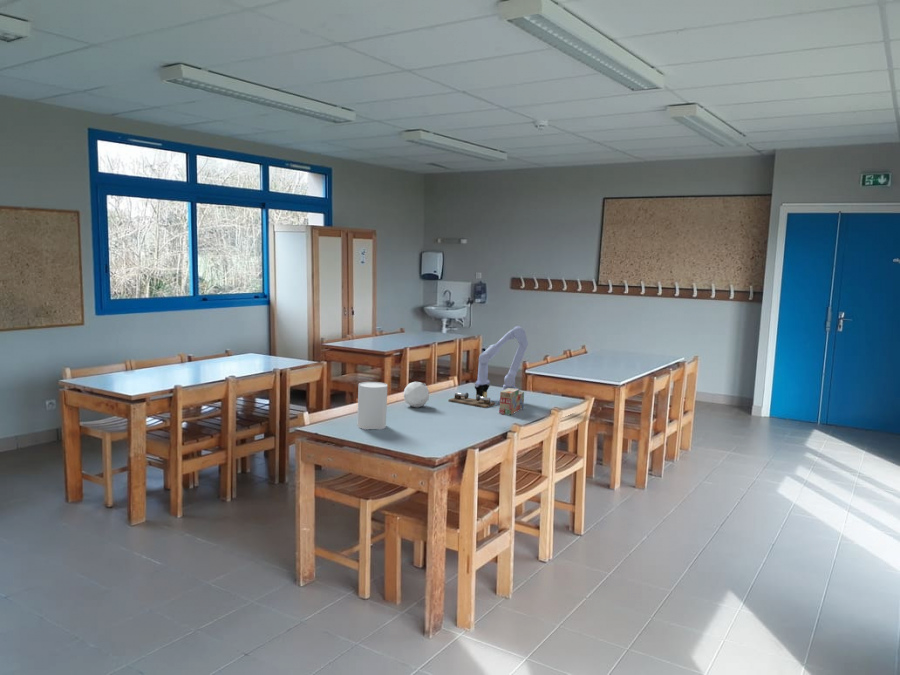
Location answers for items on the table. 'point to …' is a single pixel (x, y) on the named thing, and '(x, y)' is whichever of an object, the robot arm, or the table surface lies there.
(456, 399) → the shaft bench
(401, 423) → the table surface
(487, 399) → the shafts
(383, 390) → the canister
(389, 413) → the table surface
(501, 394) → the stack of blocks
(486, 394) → the wooden block
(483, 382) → the robot arm
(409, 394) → the geodesic sphere
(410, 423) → the table surface
